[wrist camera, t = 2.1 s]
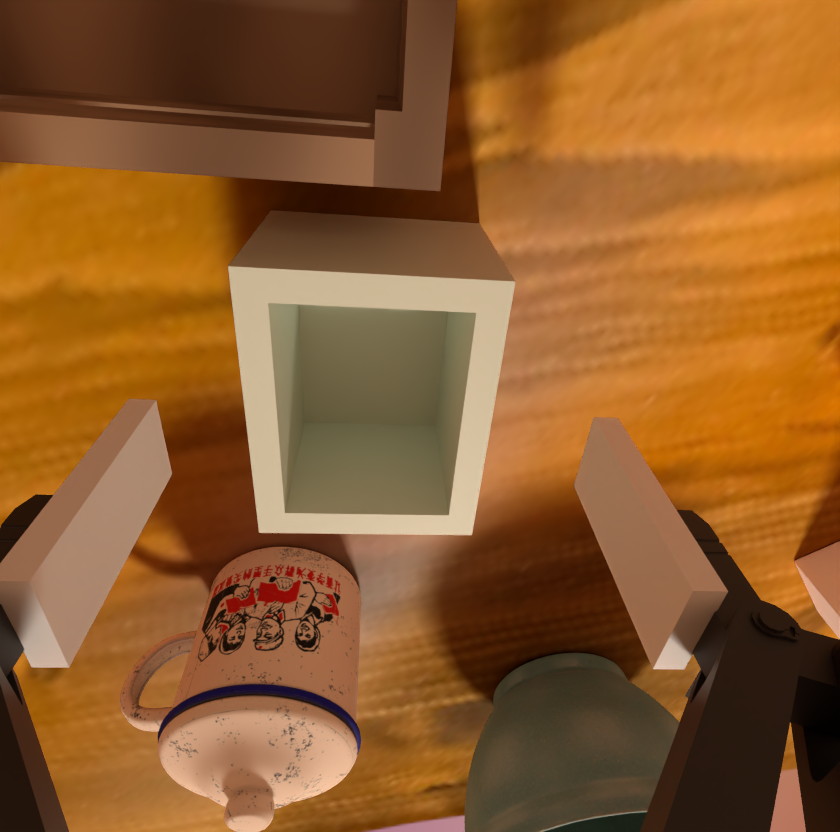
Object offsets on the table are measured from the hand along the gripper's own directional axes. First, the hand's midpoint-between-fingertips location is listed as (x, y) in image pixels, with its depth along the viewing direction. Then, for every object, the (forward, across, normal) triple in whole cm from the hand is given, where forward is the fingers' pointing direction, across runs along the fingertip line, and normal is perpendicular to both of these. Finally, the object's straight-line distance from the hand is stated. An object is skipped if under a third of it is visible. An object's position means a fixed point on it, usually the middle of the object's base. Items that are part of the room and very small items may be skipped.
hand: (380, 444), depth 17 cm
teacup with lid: (+8, -6, -17) cm, 20 cm away
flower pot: (+8, +14, -27) cm, 31 cm away
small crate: (+8, 0, 0) cm, 8 cm away
